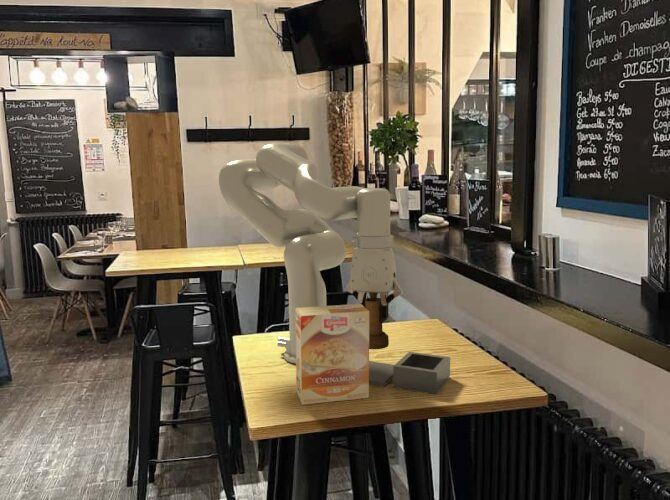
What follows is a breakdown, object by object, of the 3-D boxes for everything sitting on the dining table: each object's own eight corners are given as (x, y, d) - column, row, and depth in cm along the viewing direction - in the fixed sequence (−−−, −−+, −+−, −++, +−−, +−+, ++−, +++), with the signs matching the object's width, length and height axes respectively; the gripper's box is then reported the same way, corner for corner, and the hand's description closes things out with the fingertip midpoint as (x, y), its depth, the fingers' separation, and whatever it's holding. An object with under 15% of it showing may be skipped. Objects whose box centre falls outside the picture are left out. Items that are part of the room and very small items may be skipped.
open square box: (393, 387, 141) (393, 366, 140) (409, 371, 150) (409, 351, 150) (436, 394, 136) (437, 372, 136) (449, 377, 146) (450, 357, 145)
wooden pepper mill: (365, 351, 143) (363, 273, 140) (356, 343, 149) (354, 268, 147) (392, 347, 145) (391, 271, 142) (383, 340, 151) (381, 266, 148)
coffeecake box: (301, 405, 131) (300, 315, 128) (295, 393, 138) (294, 307, 135) (370, 398, 135) (370, 310, 131) (361, 386, 141) (361, 302, 138)
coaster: (343, 380, 145) (343, 376, 145) (363, 364, 156) (363, 360, 156) (384, 386, 141) (384, 382, 141) (401, 369, 152) (401, 365, 152)
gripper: (333, 242, 144) (334, 320, 146) (403, 246, 136) (402, 328, 139) (347, 238, 150) (347, 312, 153) (413, 242, 143) (413, 319, 146)
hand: (373, 319), depth 146 cm, fingers closed on wooden pepper mill, 3 cm apart
